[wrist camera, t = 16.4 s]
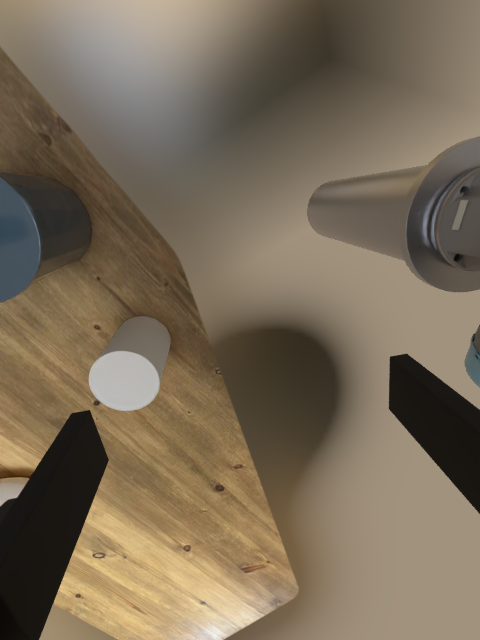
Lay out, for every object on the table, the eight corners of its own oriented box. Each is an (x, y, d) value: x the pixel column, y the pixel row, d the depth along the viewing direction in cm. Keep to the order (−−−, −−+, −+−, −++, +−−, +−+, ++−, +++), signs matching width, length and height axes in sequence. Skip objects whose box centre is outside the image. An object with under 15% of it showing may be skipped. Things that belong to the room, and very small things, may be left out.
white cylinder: (129, 371, 51) (107, 418, 40) (107, 325, 48) (76, 363, 37) (178, 355, 51) (169, 399, 40) (158, 309, 48) (143, 342, 37)
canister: (75, 169, 41) (8, 153, 27) (102, 261, 45) (56, 287, 31) (-20, 183, 40) (-135, 174, 27) (17, 275, 45) (-67, 307, 31)
